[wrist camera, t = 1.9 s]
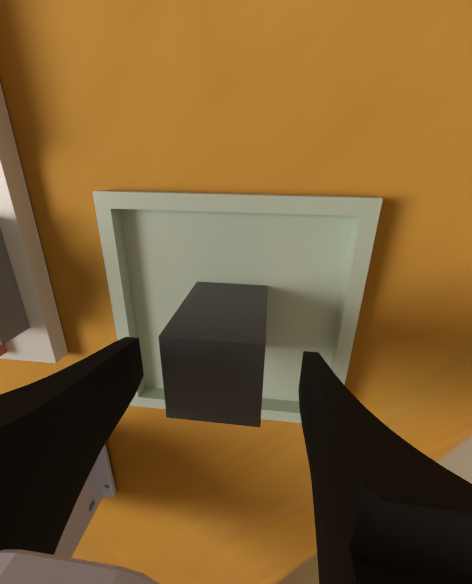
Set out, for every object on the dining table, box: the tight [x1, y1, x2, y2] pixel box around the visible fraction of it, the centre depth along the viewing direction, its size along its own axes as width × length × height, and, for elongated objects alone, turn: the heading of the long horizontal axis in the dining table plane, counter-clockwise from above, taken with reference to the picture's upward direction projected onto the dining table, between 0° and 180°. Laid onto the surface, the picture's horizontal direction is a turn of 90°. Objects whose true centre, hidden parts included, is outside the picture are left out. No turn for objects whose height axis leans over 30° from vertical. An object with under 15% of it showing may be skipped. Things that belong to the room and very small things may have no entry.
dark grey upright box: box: [158, 282, 268, 427], centre depth 14 cm, size 4×4×6 cm
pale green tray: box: [92, 190, 383, 423], centre depth 16 cm, size 14×14×1 cm
